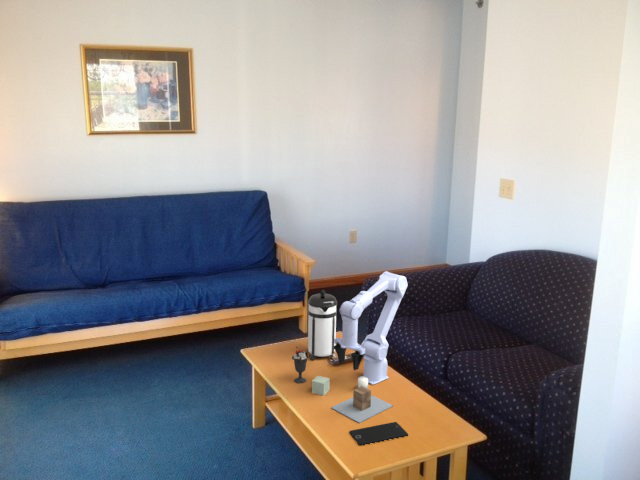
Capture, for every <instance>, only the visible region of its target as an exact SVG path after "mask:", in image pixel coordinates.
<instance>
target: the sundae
mask: <svg viewBox="0 0 640 480" xmlns="http://www.w3.org/2000/svg"><path fill="white" fill-rule="evenodd" d="M295 348H296V349H297V350H295V352H294V354H293V355H292V357H291V359H292V360H293V361H294V362H293V363H294V369H295V371H296V372H297V373H298V377H296V378H294V380H293V381H294V383H296V384H305V383H307V379H306V378H304V377H303V373H304V372H305V371H306V368H307V362H308V359H310V356H309V351H308V350H307V351H304V350H302V349H300V348H298V346H295Z"/></svg>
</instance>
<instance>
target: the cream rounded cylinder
mask: <svg viewBox="0 0 640 480" xmlns="http://www.w3.org/2000/svg"><path fill="white" fill-rule="evenodd" d="M361 386H363V387H365V388H367V389H369V383H368V378H366V377H360V376H359V377H357V388H359V387H361Z"/></svg>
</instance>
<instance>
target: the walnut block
mask: <svg viewBox="0 0 640 480" xmlns="http://www.w3.org/2000/svg"><path fill="white" fill-rule="evenodd" d="M352 393H353V397H352V398H353V407H355V408H357V409H359V410H361V411H363V410H365V409H367V408H369V407H371V395H372V390H371V389H370V388H368V389H367V388H365V387H363V386H361V387H359V388H358V387H356V388H355V389H353V392H352Z"/></svg>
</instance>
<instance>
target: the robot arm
mask: <svg viewBox="0 0 640 480" xmlns="http://www.w3.org/2000/svg"><path fill="white" fill-rule="evenodd" d="M407 279H408V278H407V277H406V276H404V275H399V274H396V273H393V272H389V271H384V272H383V273H382V274H380V275H379V278H378V280H377V281H376V282H375V283H374V284H373V285H372V286H371V287H369V288H368V290H367V291H366V290H361V291H360V292H359V293H358V294H357V295H356V296H354V297H353V298H352V299H350V300H349V301H348V300H346V301H344V302H343V303H342V304H341V305H340V308H339V313H340V315H341V320H342V334H341V335H342V336H341V337H342V338H340V337H336V338H335V339H334V343H335V346H334V349H335V352H336V353H335V354H336V355H337V356H336V357H337V359H338V363H339V364H344V363H345V361H346V351H347V349H348V350H352V351H353V352H352V353H350V354H351V359H352V368H353V371H357V370H359V369H360V368H359V367H360V365H361V362H362V359H363V358H364V359H363V360H364V361H363V375H360V376H359V377H366V378H368V384H370V385H372V386H374V385H376V384H379V383H380V382H383V381H385V380H387V379H389V377H390V376H388V360H387V354H388V348H389V346H390V345H389V343H388V341H387V339H386V337H387V335H388V332H389V331H390V328H391V326H392V323H393V320H394V319H395V316H396V313H397V311H398V309H399V306H400V304H401V301H402V299H403V297H404V295H405V293H406V290H407V288H408V286H409V285H408V281H407ZM382 292H384V293H385V294H386V295H387V297H386V298H387V299H386V301H385V302H384V306H383V308H382V310H381V313H380V316H379V317H378V320H377V323H376V325H375V328H374V330H373V332H371V333H370V334H367V335H366V336H365V338H364V340H363V341H362V343H361V344H359V343H358V328H359V326H358V324H359V318H360V317H361V315H362V313H363V311H364V310H365V309H366V308H367V307H368V306H370V305H371V304H373V298H375V297H377V296H378V295H380V294H381V293H382Z"/></svg>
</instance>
